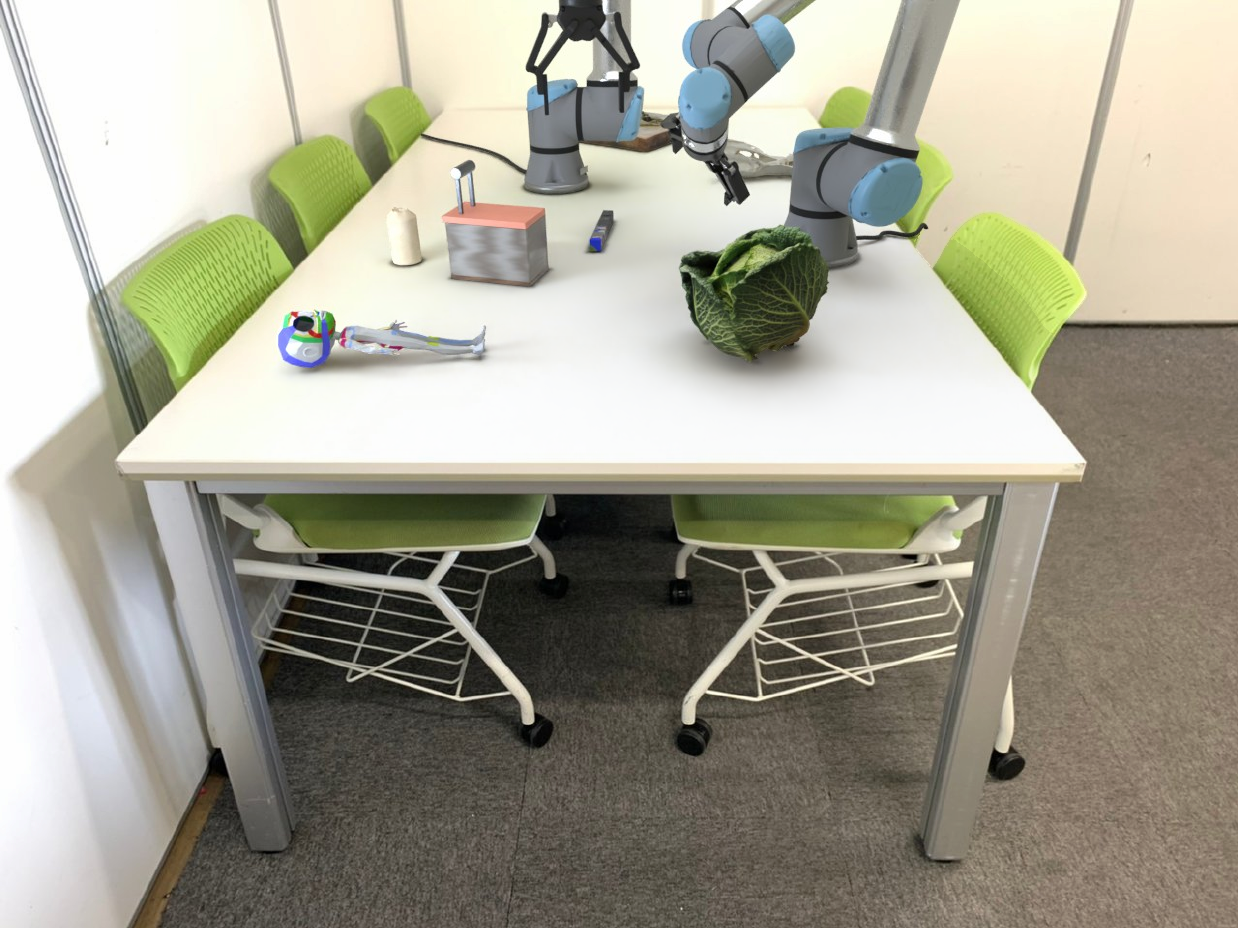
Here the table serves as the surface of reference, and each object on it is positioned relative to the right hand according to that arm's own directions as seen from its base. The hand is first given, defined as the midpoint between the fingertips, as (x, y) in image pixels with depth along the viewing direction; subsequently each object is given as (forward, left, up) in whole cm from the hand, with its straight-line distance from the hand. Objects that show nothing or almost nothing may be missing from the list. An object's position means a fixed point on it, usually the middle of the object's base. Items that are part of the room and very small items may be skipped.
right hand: (705, 173), depth 165 cm
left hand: (+21, -7, +10) cm, 25 cm away
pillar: (+18, -14, -15) cm, 27 cm away
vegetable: (+2, +43, -15) cm, 46 cm away
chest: (+39, +5, -15) cm, 42 cm away
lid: (+39, +4, -5) cm, 40 cm away
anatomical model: (-23, -54, -15) cm, 61 cm away
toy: (+57, +38, -15) cm, 70 cm away
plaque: (-1, -103, -15) cm, 104 cm away
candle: (+56, -5, -15) cm, 59 cm away
